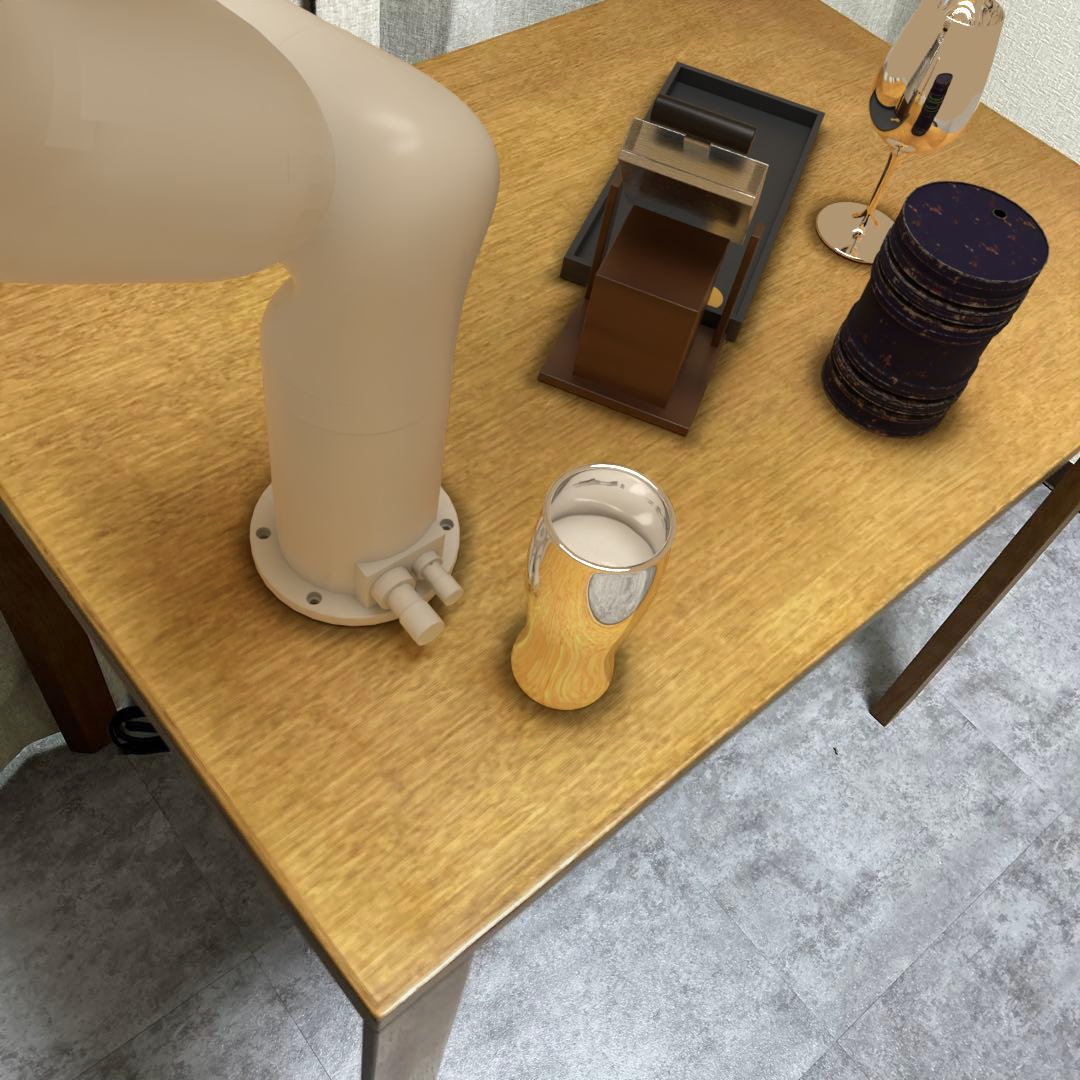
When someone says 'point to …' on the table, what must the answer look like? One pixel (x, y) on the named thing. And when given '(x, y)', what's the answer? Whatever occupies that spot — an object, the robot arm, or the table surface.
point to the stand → (647, 318)
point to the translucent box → (693, 168)
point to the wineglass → (919, 105)
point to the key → (715, 298)
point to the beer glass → (589, 579)
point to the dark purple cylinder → (932, 306)
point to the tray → (776, 143)
